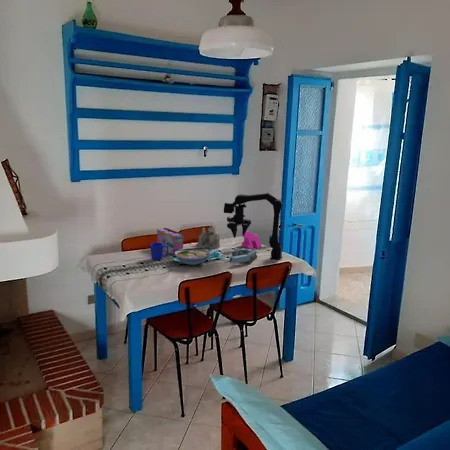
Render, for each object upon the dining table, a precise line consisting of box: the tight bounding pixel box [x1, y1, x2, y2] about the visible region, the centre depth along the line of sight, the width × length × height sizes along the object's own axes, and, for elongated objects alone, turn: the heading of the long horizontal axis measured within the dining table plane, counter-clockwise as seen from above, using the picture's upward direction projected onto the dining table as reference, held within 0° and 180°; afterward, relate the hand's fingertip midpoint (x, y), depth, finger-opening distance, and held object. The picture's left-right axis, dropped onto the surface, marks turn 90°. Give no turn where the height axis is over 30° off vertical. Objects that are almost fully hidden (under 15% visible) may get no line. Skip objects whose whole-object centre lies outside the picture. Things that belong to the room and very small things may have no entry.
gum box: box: [156, 227, 184, 255], centre depth 317 cm, size 24×8×14 cm, turn 40°
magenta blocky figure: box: [241, 230, 263, 250], centre depth 328 cm, size 12×10×10 cm
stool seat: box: [229, 247, 258, 265], centre depth 298 cm, size 14×14×6 cm
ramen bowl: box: [172, 247, 211, 266], centre depth 289 cm, size 25×23×8 cm
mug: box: [149, 242, 169, 261], centre depth 297 cm, size 8×12×10 cm
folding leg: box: [231, 254, 251, 264], centre depth 288 cm, size 14×3×4 cm, turn 122°
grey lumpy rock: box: [196, 224, 221, 249], centre depth 328 cm, size 16×16×15 cm
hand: (239, 236), depth 303 cm, fingers open, 9 cm apart
